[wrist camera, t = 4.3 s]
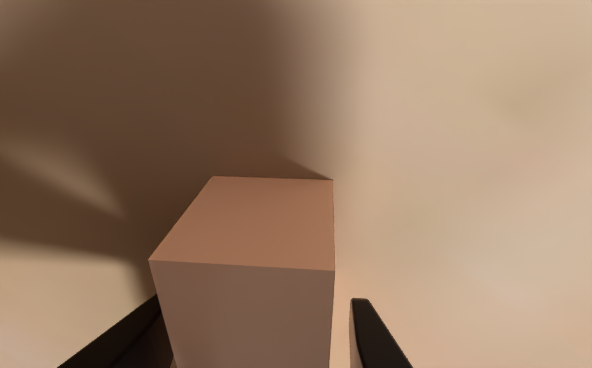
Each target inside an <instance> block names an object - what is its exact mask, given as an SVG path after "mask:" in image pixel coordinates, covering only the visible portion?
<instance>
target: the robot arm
mask: <svg viewBox="0 0 592 368" xmlns="http://www.w3.org/2000/svg"><path fill="white" fill-rule="evenodd" d="M349 340H350V367H351V368H413V367H412V365H411V364H410V362H409V361H408V359H407V358H406V356H405V355H404V353H403V351H402V350H401V348H400V347H399V345H398V344H397V342H396V341H395V339H394V338H393V336H392V335H391V333H390V332H389V330H388V329H387V327H386V326H385V324H384V323H383V321H382V320H381V318H380V316H379V315H378V313H377V312H376V310H375V309H374V307H373V306H372V304H371V303H370V301H369V300H368V299H365V298H352V299H351V302H350V316H349ZM173 357H174V354H173V351H172V347H171V343H170V340H169V336H168V332H167V329H166V325H165V321H164V317H163V314H162V310H161V306H160V303H159V299H158V295H157V293H156V294H155V295H154V296H152V297H151V298H150V299H148V300H147V301H146V302H144V303H143V304H142V305H140V306H139V307H138V308H136V309H135V310H134V311H132V312H131V313H130V314H128V315H127V316H126V317H124V318H123V319H122V320H120V321H119V322H118V323H116V324H115V325H114V326H112V327H111V328H110V329H108V330H107V331H106V332H104V333H103V334H101V335H100V336H99V337H97V338H96V339H95V340H93V341H92V342H91V343H89V344H88V345H87V346H85V347H84V348H83V349H81V350H80V351H79V352H77V353H76V354H75V355H73V356H72V357H71V358H69V359H68V360H67V361H65V362H64V363H63V364H61V365H60V366H59V367H57V368H170V366H171V363H172V360H173Z"/></svg>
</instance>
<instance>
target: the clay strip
mask: <svg viewBox="0 0 592 368" xmlns="http://www.w3.org/2000/svg"><path fill="white" fill-rule="evenodd" d="M148 262H149V266H150V270H151V273H152V277H153V281H154V284H155V288H156V292H157V295H158V299H159V303H160V306H161V310H162V314H163V317H164V321H165V325H166V329H167V332H168V336H169V340H170V343H171V347H172V351H173V354H174V358H175V362H176V365H177V368H329V360H330V345H331V329H332V313H333V297H334V281H335V245H334V206H333V180H318V179H288V178H259V177H230V176H212V177H211V179H210V180H209V181H208V182H207V184H206V185H205V186H204V188H203V189H202V190H201V191H200V193H199V194H198V195H197V197H196V198H195V199H194V201H193V202H192V203H191V204H190V206H189V207H188V208H187V210H186V211H185V212H184V214H183V215H182V216H181V217H180V219H179V220H178V221H177V223H176V224H175V225H174V226H173V228H172V229H171V230H170V232H169V233H168V234H167V236H166V237H165V238H164V239H163V241H162V242H161V243H160V245H159V246H158V247H157V249H156V250H155V251H154V252H153V254H152V255H151V256H150V258H149V259H148Z"/></svg>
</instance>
